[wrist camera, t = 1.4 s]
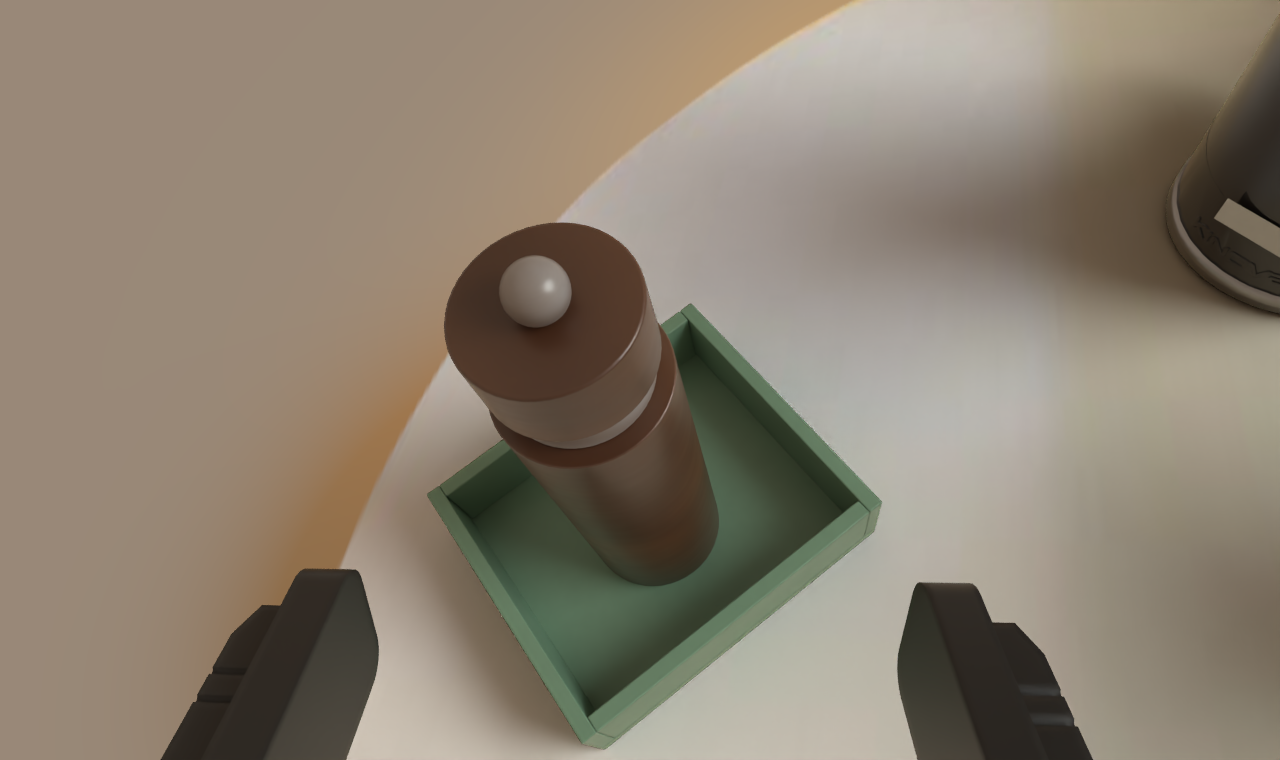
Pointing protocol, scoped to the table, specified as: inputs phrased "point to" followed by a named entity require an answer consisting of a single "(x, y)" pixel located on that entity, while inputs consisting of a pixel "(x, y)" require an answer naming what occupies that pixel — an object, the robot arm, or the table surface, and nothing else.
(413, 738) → the table surface
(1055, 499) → the table surface
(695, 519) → the pepper mill
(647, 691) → the green shallow open box
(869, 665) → the table surface
